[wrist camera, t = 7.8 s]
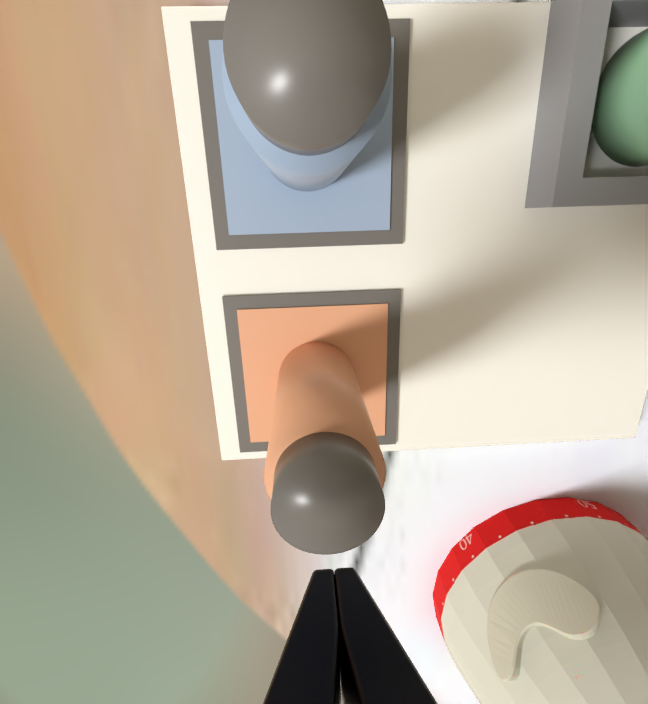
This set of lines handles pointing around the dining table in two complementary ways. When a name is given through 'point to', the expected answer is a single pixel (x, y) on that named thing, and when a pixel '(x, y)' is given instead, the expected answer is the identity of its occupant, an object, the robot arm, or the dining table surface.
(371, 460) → the terracotta marker
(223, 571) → the dining table surface
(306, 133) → the blue bottle
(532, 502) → the kitchen timer
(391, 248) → the cream board with squares
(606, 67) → the button
